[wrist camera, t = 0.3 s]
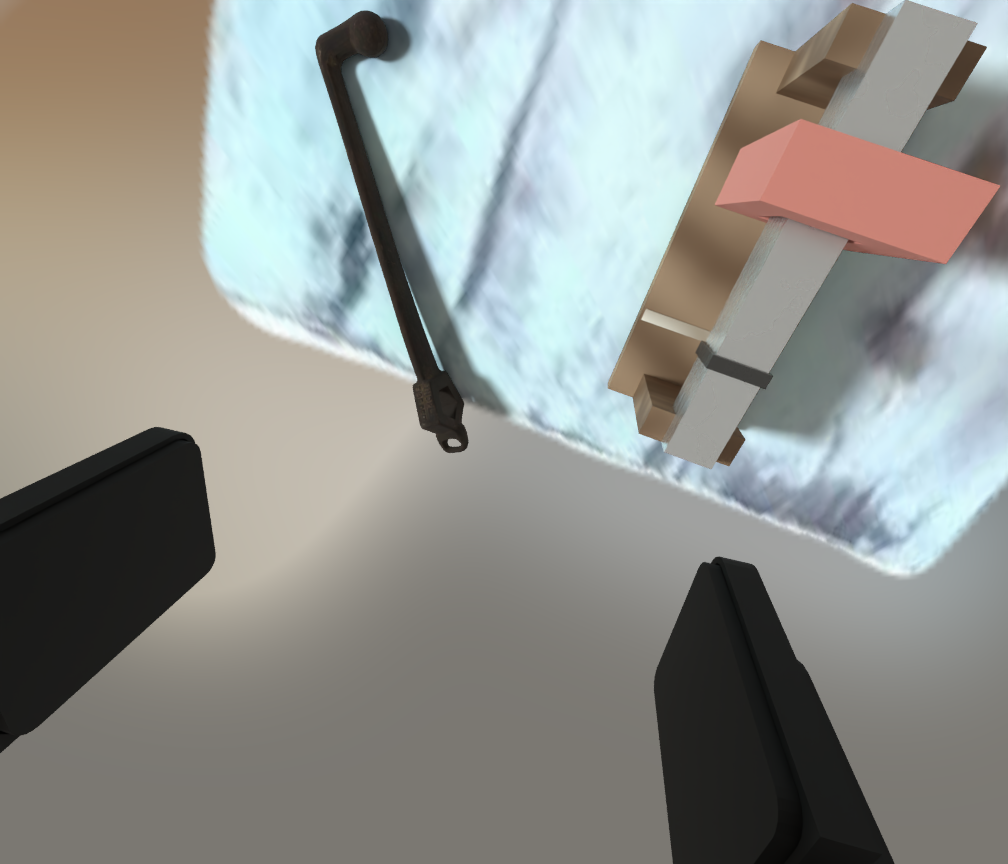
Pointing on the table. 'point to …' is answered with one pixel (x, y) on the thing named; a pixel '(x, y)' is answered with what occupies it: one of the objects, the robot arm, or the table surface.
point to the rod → (808, 232)
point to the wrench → (388, 229)
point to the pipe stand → (729, 235)
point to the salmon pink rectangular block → (856, 192)
